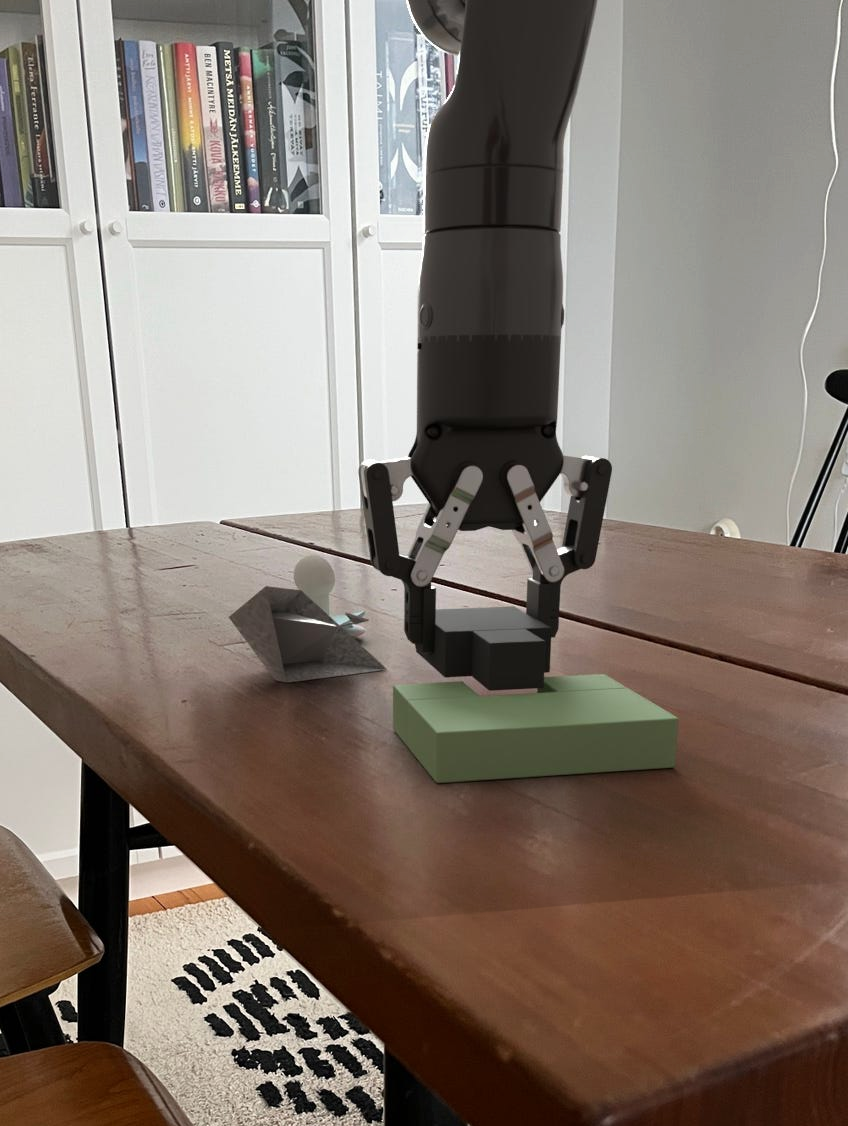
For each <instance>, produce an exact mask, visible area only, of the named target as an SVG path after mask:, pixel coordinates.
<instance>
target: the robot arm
mask: <svg viewBox="0 0 848 1126" xmlns="http://www.w3.org/2000/svg"><path fill="white" fill-rule="evenodd" d="M406 4H407V8H408V11H409V14H410V16H411V19H412V21H413V23H414V24H415V26H416V28H417V29H418V31H419V32H420V33H421V35H422V36H423V37H424V38H425V40H426V41H428V42H429V43H430V44H431V45H432V46H434V47H435V48H436V49H438V50H439V51H442V52H444V53H446V54H449V55H452V56H455V57H456V56H457V57H458V63H457V70H456V77H455V82H454V85H453V87H452V91H451V92H450V94H449V95H448V97H447V99H446V100H445V101H444V102H443V104H442V106H441V107H439V109H438V110H437V111H436V113H435V114H434V116H433V117H432V118H431V120H430V122H429V125H428V129H427V132H426V138H425V144H424V145H425V146H424V158H423V195H422V196H423V199H422V200H423V203H422V204H423V205H422V209H423V211H422V213H423V215H422V233H423V234H424V236H423V237H422V250H421V256H420V257H421V259H420V265H419V270H418V271H419V272H418V281H417V324H416V325H417V327H416V328H417V330H416V331H417V332H416V333H417V335H416V336H417V338H416V339H417V341H416V343H417V345H416V352H417V353H416V434H415V439H414V443H413V445H412V446H411V449H410V451H409V452H408V455H407V456H405V457H401V458H393V459H387V460H382V461H377V460H375V459H366V460H364V461H363V462H361V464H359V467H358V470H357V471H358V472H357V473H358V480H359V488H360V494H361V501H362V508H363V517H364V525H365V531H366V538H367V545H368V552H369V559H370V564H371V566H372V567H373V568H374V569H375V570H376V571H379V572H380V573H381V574H382V575H384V576H385V577H392V578H395V579H397V580H400V581H401V582H402V585H403V587H404V592H403V593H404V597H403V598H404V601H403V605H404V607H403V610H404V614H403V618H404V619H403V631H404V633H405V634H404V635H405V636H406V639H407V640H408V641H409V642H410V643H411V644H413V645H414V647H415V648H414V649H415V651H416V650H417V651H419V652H420V653H421V654H433V653H434V645H435V624H436V609H437V588H436V587H435V586H433V585H432V580H433V578H434V576H435V574H436V571H437V570H438V567H439V565H440V563H441V561H442V558H443V556H444V555H445V552H446V551H448V550H449V548H450V547H451V545H452V543H453V541H454V539H455V537H456V535H457V533H458V531H460V532H472V531H473V532H476V531H479V530H482V529H485V528H493V529H496V530H497V529H498V530H501V531H512V534H513V536H514V538H515V540H516V541H517V542H518V543H519V545H520V548H521V550H522V552H523V554H524V557H525V560H526V561H527V564H528V566H529V569H530V571H531V572H532V578H531V577H530V578H526V582H527V583H526V604H525V605H526V606H525V613H526V614H528V615H530V616H532V617H533V618H535V619H537V620H539V621H541V622H542V623H544V624H546V625H548V626H549V627H551V628H552V634H551V639H552V638H556V636H557V633H558V632H559V625H560V623H559V622H560V607H561V606H560V605H561V587H562V582H563V581H564V579H565V578H566V577H567V576H568V575H570V574H572V573H575V572H578V571H580V570H588V569H591V567H593V566H594V564H595V562H596V558H597V554H598V553H597V552H598V547H599V542H600V538H601V537H600V536H601V531H602V527H603V522H604V515H605V511H606V505H607V499H608V495H609V488H610V484H611V478H612V473H613V466H612V463H611V462H610V460H609V459H607V458H604V457H598V456H593V455H592V456H591V455H584V456H581V457H578V456H577V457H576V456H570V455H569V456H568V455H564V453H563V451H562V448H561V447H560V444H559V442H558V438H557V437H558V436H557V426H558V425H557V424H558V414H559V413H558V412H559V410H558V409H559V389H560V387H559V386H560V366H561V347H562V345H561V344H562V329H563V326H564V324H565V323H564V322H565V308H564V304H563V300H564V273H563V261H562V260H563V259H562V248H561V247H562V243H561V241H562V240H561V234H560V233H561V231H562V230H561V229H562V228H561V227H562V207H563V205H562V204H563V185H564V182H563V181H564V179H563V178H564V159H565V158H564V147H565V138H566V133H567V129H568V126H569V121H570V118H571V115H572V111H573V108H574V105H575V101H576V98H577V94H578V90H579V86H580V81H581V78H582V77H581V76H582V74H583V73H582V72H583V68H584V64H585V60H586V56H587V51H588V47H589V42H590V38H591V34H592V30H593V25H594V20H595V16H596V12H597V11H596V10H597V5H598V0H406ZM560 475H561V477H562V479H563V489H564V491H565V493H566V494H567V495H568V496H570V499H569V504H568V511H567V515H566V520H565V527H564V533H563V537H562V539H563V540H562V544H561V547H560V548H558V549H557V546H556V544H555V542H554V539H553V538H554V536H553V535H554V534H553V531H552V529H551V526H550V524H549V521H548V519H547V517H546V514H545V512H544V509H543V507H542V505H541V502H542V501H543V499H544V498H545V496H546V495H547V493H548V492H549V490H550V489H551V487H552V486H553V485H554V483H555V482H556V480H557V479H558V477H560ZM408 478H411V479H412V480H413V482H414V483H415V484H416V486H417V487H418V489H419V490H420V492H421V494H422V496H424V498H425V500H426V501H427V502H428V503H427V504H428V505H427V506H426V509H425V511H424V513H423V515H422V518H421V520H420V521H419V523H418V526H417V528H416V531H415V537H414V539H413V542H412V545H411V546H410V549H409V550H408V553H407V555H406V556H405V555H404V554H401V553H400V547H399V540H398V534H397V526H396V525H397V524H396V517H395V509H394V503H393V502H396V501H398V500H399V499H400V498H401V497H402V495H403V492H404V484H405V482H406V480H407V479H408Z"/></svg>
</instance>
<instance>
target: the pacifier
mask: <svg viewBox="0 0 848 1126" xmlns="http://www.w3.org/2000/svg"><path fill="white" fill-rule="evenodd" d="M293 581H294V584H295V586H296V588H297V590H302V591H303V592H304V593H305V594H306V595H307V596H308V597H309V598H310V599H311V600H312V601H314V602H315V603H316V604H317V605H318V606H319V607H320V608H321V609H322V610H323V611H324V612H325V613H327V614H328V615H329V616H330V617H331V618H332V619H333V620H334V621H335V622H336V623H337V624H339V625H342V624H347V623H351V622H352V621H351V620H350V619H349V618H348V617H347V616H346V615H345V614H341V615H330V594H331V592H332V591H333V589H334V587H335V584H336V577H335V572H334V569H333V566H332V565H331V564H330V563H329V562H328V560H327V559H325V558H324V557H322V556H321V555H318V554H307V555H304V556H302V557H301V558H300V559H299V560H298V561H297V562H296V564H295V567H294V570H293ZM351 614H352V615H356V616H359V617H362V618H364V616H365V615H366V610H362V611H358V612H355V613H351ZM342 628H343V629H344V630H345V631H346V632H347V633H348V634H349V635H351V636H352V637H353V638H354V637H358V636H359V637H360V636H362V635H364V634H365V633H366V628H364V627H363V626H362V625H359V624H355V625H354V624H352V625H347V626H343V627H342Z"/></svg>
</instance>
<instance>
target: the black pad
mask: <svg viewBox="0 0 848 1126" xmlns="http://www.w3.org/2000/svg"><path fill="white" fill-rule="evenodd" d="M551 634H552V628H551V627H549V626H548V625H546V624H544V623H542V622H541V621H539V620H537V619H535V618H533V617H532V616H530V615H528V614H526V611H523V610H522V609H519V608H518V607H516V606H494V607H493V606H492V607H491V606H490V607H489V606H487V607H463V608H438V609H437V608H436V624H435V645H434V653H433V654H421V653H420V652H419V651H417V650H416V649H415V652H416V653H417V654H418V655H419V656H420V657H421V658H422V659H423V660H425V661H426V662H427V663H428V664H429V665H430V666H431V667H432V668H433V669H434V670H436V671H437V672H438V673H439V674H440V675H441V676H443V677H444V678H463V677H472V678H473V679H474V680H475V681H477V682H478V683H479V684H480V685H482V686H483V687H484V688H485V689H487V690H488V691H489V692H490V691H511V690H514V691H515V690H530V689H537V688H543V687H544V677H545V674H546V673H547V674H549V673H551V672H550V671H551V651H552V638H551Z"/></svg>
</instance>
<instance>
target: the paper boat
mask: <svg viewBox="0 0 848 1126" xmlns="http://www.w3.org/2000/svg"><path fill="white" fill-rule="evenodd" d="M352 614H353V613H349V612H345V613H344V615H346V616H347V617H348V618H349V619H350V620H351V621H352V622H351V623H347V624H342V625H339V624H337V623H336V622H335V621H334V620H333V619H332V618H331V617H330V616H331V615H330V614H329V615H328V614H327V613H325V612H324V611H323V610H322V609H321V608H320V607H319V606H318V605H317V604H316V603H315V602H314V601H312V600H311V599H310V598H309V597H308V596H307V595H306V594H305V593H304V592H303V591H302V590H298V589H295V588H284V587H278V586H270V585H265V586H264V587H263V588H262V589H260V590H259V591H258V592H257V593H256V594H254V595H253V596H252V597H251V598H250V599H248V600H247V601H246V602H245V603H244V604H243V605H241V606H240V607H239V608H238V609H237V610H235V611H234V612H233V613H232V614H230V615H229V616H228V619H229V620H230V622H231V623H232V624H233V626H234V627H235V628H236V629H237V631H238V632H239V633H240V635H241V636H242V637H243V639H244V640H245V642H246V643H247V644H248V646H249V647H250V649H251V650H252V651H253V652H254V654H255V655H256V657H257V658H258V659H259V660H260V662H261V663H262V665H263V666H264V667H265V668H266V670H267V671H268V673H269V674H270V675H271V676H272V678H273V680H274V681H276V682H281V683H286V684H287V683H293V682H301V681H302V682H303V681H309V680H317V679H325V678H332V677H340V676H348V675H356V674H362V673H363V674H364V673H373V672H378V671H380V672H381V671H387V670H388V668H387V667H386V666H385V665H383V664H382V663H381V662H380V661H379V660H378V659H377V658H375V656H374V655H372V654H371V653H370V652H369V651H368V650H367V649H366V648H365V647H364V646H363V645H362V644H361V643H359V641H357V640H356V639H355V638H354V637H352V636H351V635H349V634H348V633H347V632H346V631H345V630H344V629H343V628H342V627H343V626H347V625H352V624H354V625H359V624H362V623H366V622H369V621H370V620H369V618H365V617H359V616H356V615H352Z"/></svg>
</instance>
